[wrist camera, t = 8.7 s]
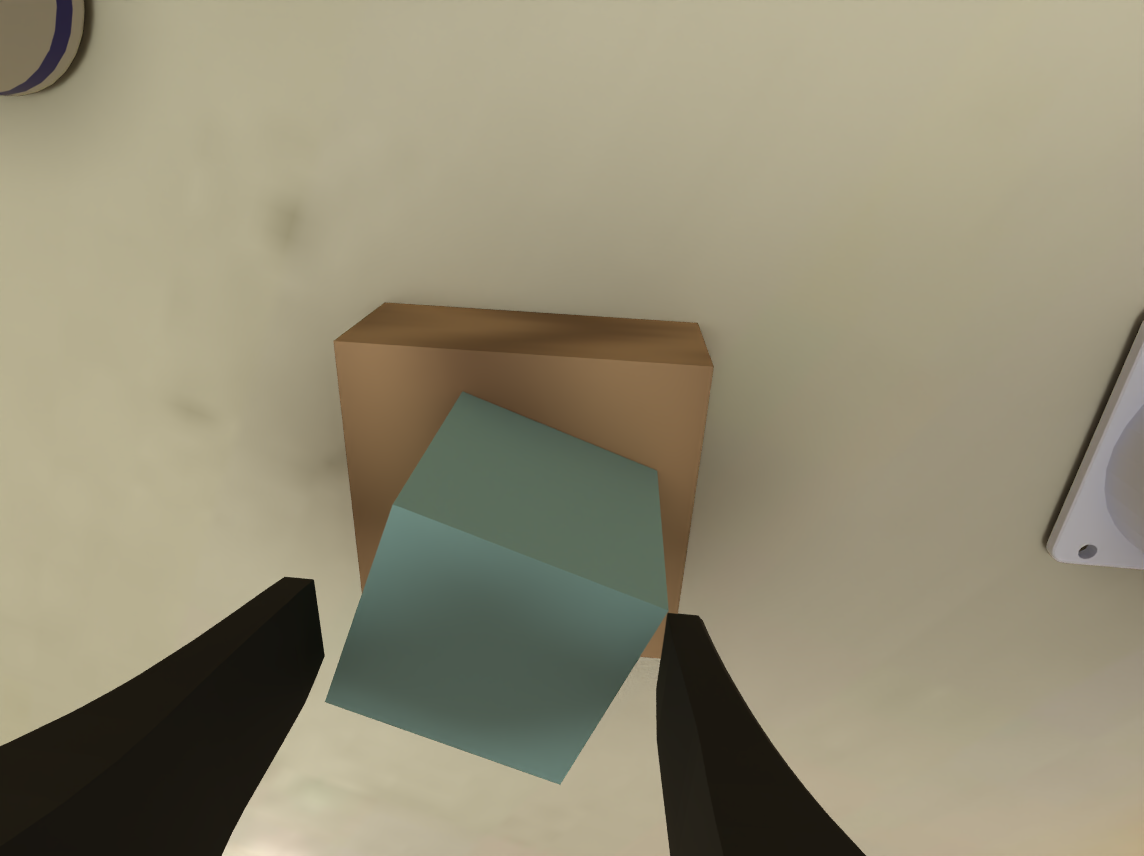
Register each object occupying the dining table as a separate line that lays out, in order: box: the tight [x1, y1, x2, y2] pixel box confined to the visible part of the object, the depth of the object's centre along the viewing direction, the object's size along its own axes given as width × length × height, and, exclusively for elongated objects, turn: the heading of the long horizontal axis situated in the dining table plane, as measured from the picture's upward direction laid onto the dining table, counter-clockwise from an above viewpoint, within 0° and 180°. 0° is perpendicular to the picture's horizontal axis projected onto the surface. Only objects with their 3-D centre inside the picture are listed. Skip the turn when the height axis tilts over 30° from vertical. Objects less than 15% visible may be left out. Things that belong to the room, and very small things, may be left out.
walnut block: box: [334, 303, 714, 658], centre depth 19 cm, size 9×9×4 cm
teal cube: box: [325, 391, 669, 784], centre depth 15 cm, size 5×5×5 cm
